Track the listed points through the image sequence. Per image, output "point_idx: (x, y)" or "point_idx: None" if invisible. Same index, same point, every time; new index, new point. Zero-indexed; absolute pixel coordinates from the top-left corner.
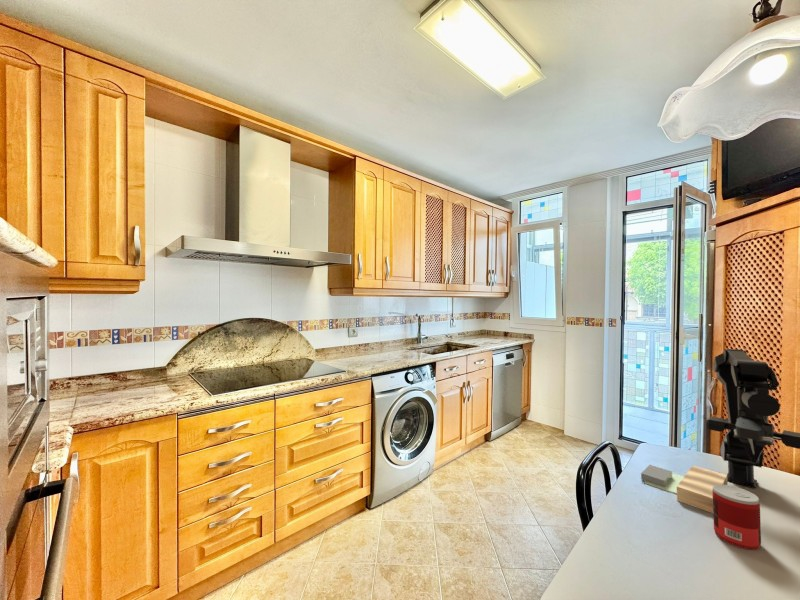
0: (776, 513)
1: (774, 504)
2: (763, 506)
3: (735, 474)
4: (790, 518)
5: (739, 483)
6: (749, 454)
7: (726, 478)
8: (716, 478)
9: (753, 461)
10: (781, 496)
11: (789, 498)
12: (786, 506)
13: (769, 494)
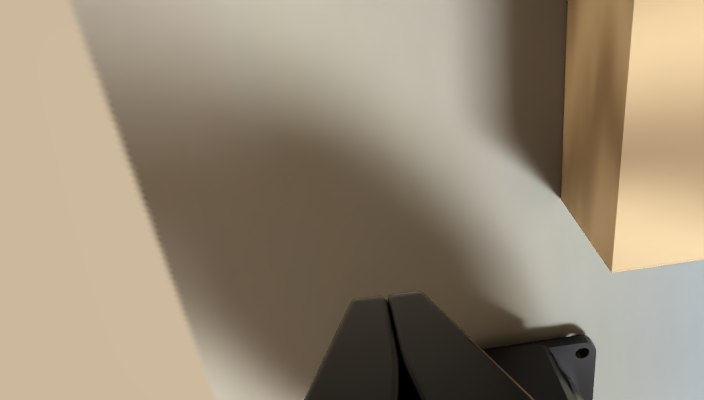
0: (194, 33)
1: (259, 207)
2: (297, 86)
3: (550, 390)
4: (101, 33)
5: (505, 348)
6: (503, 396)
7: (606, 216)
8: (698, 80)
9: (398, 305)
10: (272, 382)
11: (234, 393)
12: (200, 247)
13: None
